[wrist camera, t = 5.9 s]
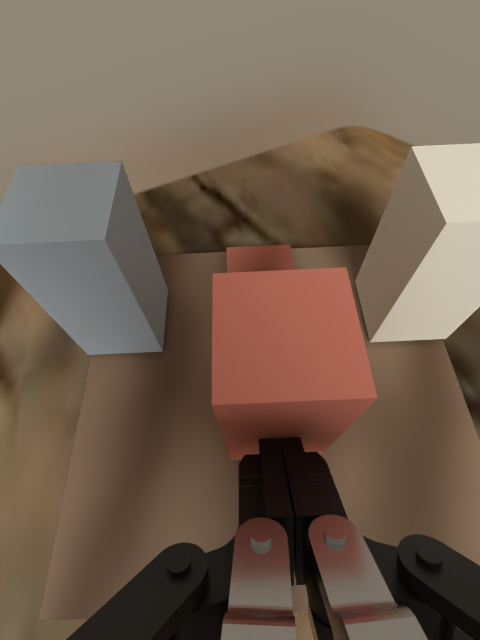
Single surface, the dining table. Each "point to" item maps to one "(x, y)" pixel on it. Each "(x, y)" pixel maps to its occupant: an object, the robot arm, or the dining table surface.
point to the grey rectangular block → (85, 255)
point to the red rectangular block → (287, 358)
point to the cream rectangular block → (425, 248)
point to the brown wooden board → (223, 474)
